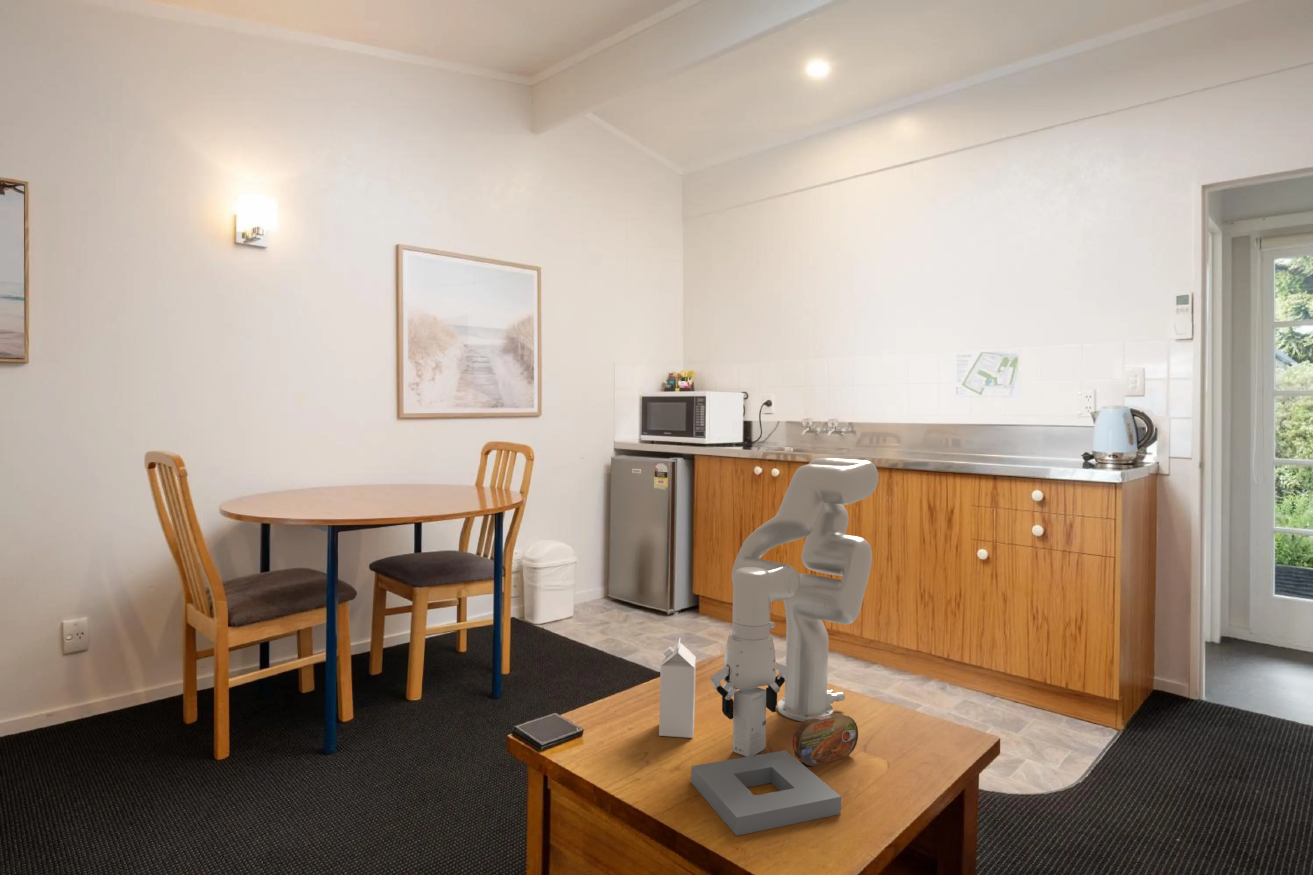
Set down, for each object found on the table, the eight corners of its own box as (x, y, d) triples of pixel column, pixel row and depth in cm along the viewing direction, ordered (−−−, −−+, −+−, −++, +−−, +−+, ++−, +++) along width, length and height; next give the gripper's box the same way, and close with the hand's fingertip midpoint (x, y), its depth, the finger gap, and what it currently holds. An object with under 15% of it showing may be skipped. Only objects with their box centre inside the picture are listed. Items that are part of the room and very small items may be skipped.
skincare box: (749, 758, 143) (751, 698, 143) (731, 751, 146) (732, 691, 145) (766, 748, 148) (768, 689, 147) (748, 741, 150) (749, 683, 150)
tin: (799, 770, 139) (800, 726, 139) (789, 763, 142) (790, 720, 141) (858, 754, 146) (860, 713, 146) (848, 748, 149) (849, 707, 148)
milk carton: (694, 724, 158) (696, 638, 158) (692, 738, 151) (694, 648, 150) (661, 722, 159) (663, 636, 158) (658, 736, 152) (660, 646, 151)
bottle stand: (785, 765, 140) (785, 750, 140) (840, 813, 124) (841, 796, 124) (690, 781, 133) (691, 765, 133) (736, 835, 116) (736, 817, 116)
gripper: (778, 620, 152) (777, 699, 153) (704, 628, 146) (703, 711, 147) (798, 630, 145) (796, 714, 146) (720, 640, 139) (719, 727, 140)
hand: (749, 712), depth 147 cm, fingers open, 9 cm apart
